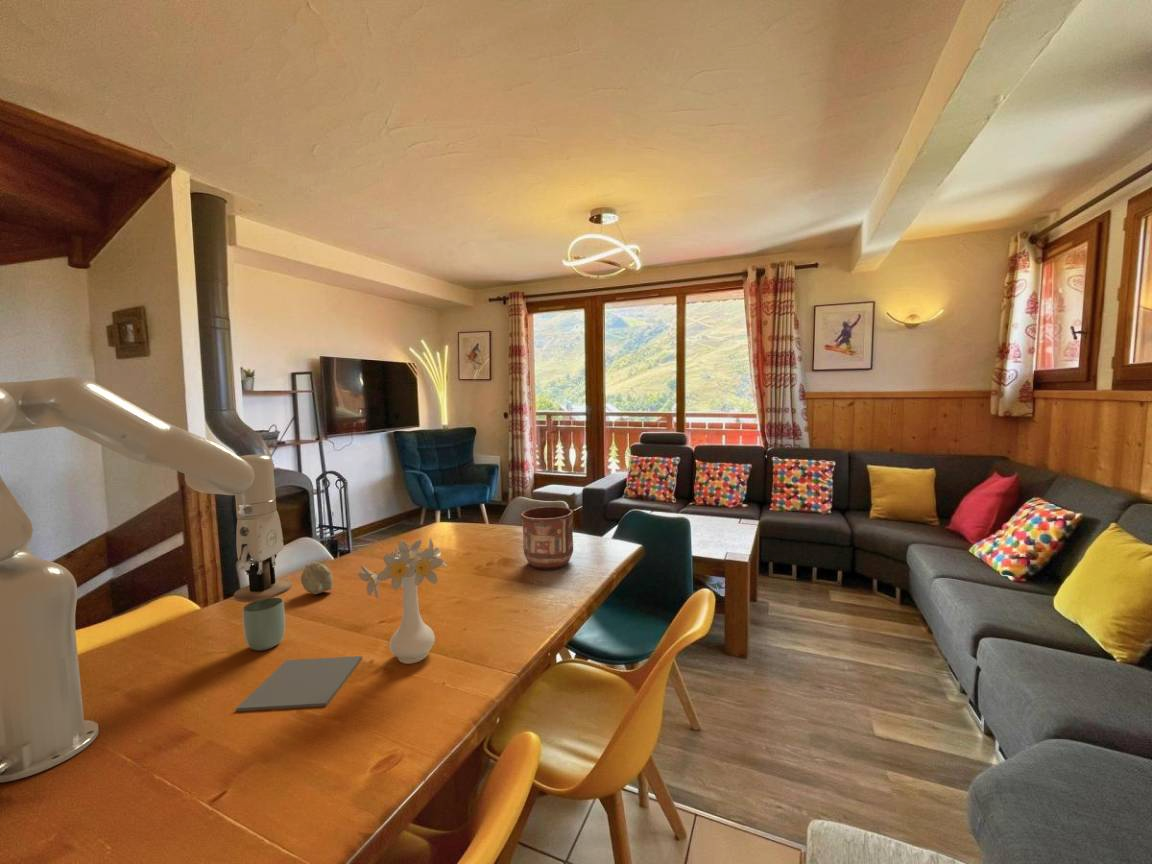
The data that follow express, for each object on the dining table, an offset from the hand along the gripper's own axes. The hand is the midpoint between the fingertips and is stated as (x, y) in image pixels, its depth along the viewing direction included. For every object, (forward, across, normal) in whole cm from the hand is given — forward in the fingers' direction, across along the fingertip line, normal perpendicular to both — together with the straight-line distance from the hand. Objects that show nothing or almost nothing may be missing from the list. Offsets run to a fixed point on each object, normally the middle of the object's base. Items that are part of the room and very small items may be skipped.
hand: (262, 586), depth 107 cm
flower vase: (+14, -9, -36) cm, 40 cm away
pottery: (+15, +47, -65) cm, 81 cm away
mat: (+14, -16, -17) cm, 27 cm away
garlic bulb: (+14, +30, +3) cm, 33 cm away
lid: (+1, 0, 0) cm, 1 cm away
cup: (+14, 0, 0) cm, 14 cm away
